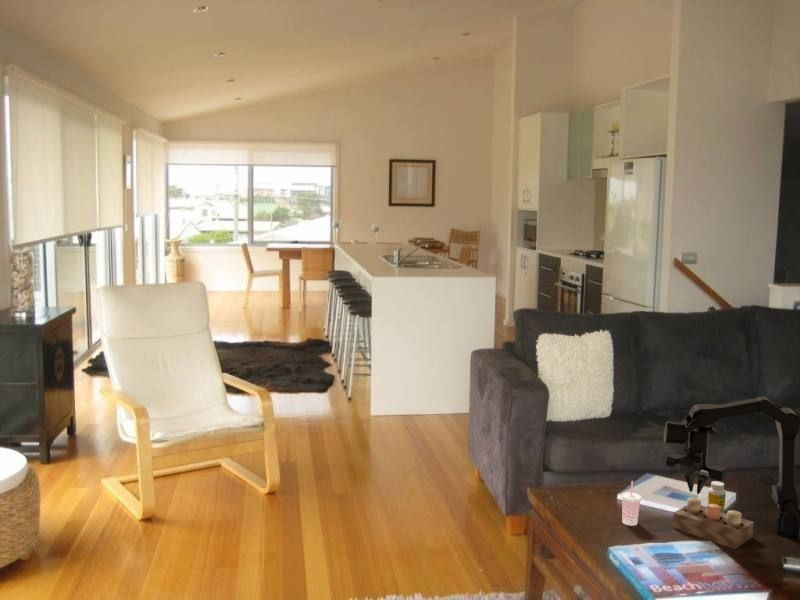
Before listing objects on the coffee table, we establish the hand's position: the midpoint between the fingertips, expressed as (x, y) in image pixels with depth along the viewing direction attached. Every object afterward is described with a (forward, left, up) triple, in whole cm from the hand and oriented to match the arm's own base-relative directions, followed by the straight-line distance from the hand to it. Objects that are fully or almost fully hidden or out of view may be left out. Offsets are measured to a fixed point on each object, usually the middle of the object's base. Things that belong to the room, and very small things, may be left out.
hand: (694, 492), depth 254 cm
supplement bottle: (0, -17, -11) cm, 20 cm away
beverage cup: (+14, +13, -11) cm, 22 cm away
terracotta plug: (-7, 0, -7) cm, 10 cm away
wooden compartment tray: (-7, 0, -11) cm, 13 cm away
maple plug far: (0, 0, -8) cm, 8 cm away
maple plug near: (-13, 0, -7) cm, 15 cm away
